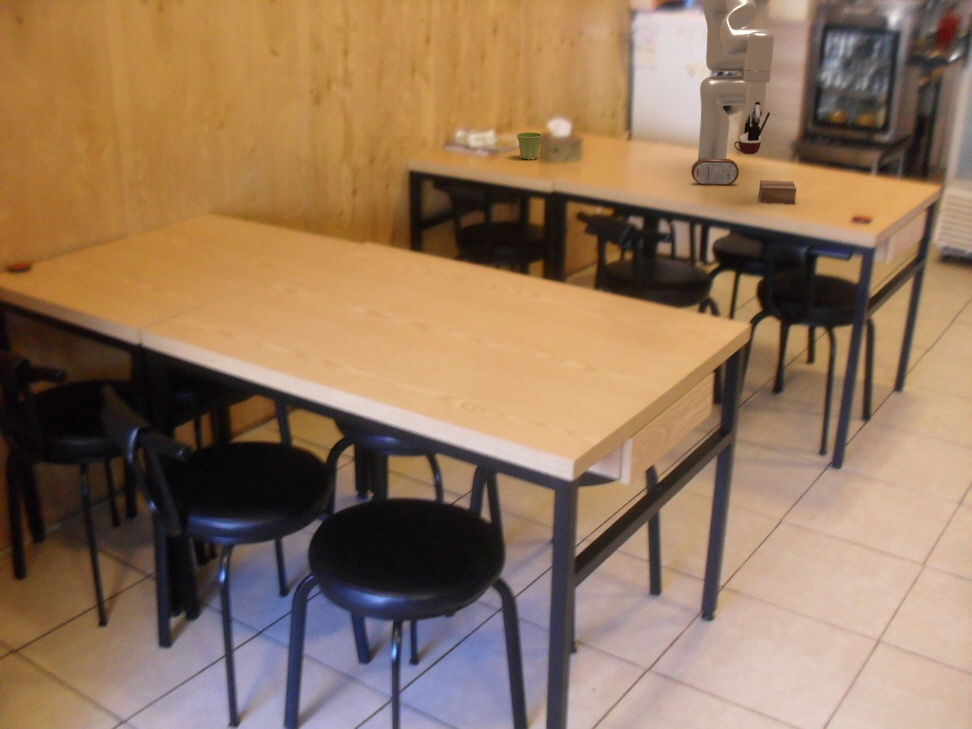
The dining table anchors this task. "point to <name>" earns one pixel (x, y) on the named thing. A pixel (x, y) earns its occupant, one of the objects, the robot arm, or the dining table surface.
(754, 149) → the cocoa
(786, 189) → the walnut block
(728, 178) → the tin
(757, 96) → the robot arm
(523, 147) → the plant pot
